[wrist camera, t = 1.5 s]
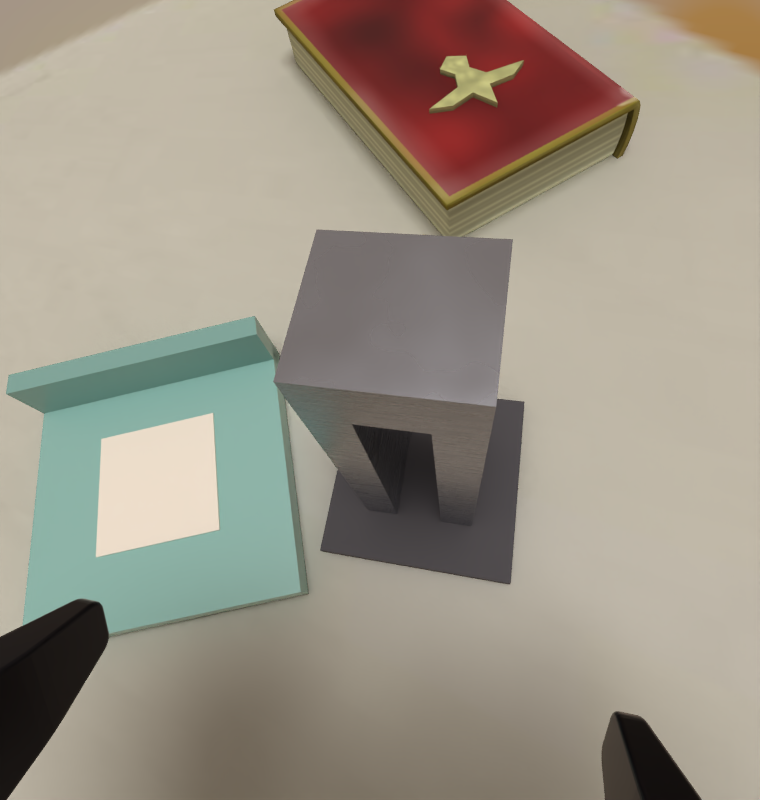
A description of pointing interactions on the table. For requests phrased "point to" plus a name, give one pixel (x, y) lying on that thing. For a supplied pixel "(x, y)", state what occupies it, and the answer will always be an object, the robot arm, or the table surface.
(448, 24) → the hardcover book
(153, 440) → the teal base plate
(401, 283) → the grey tower block
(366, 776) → the table surface
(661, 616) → the table surface
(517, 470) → the mat
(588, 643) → the table surface
